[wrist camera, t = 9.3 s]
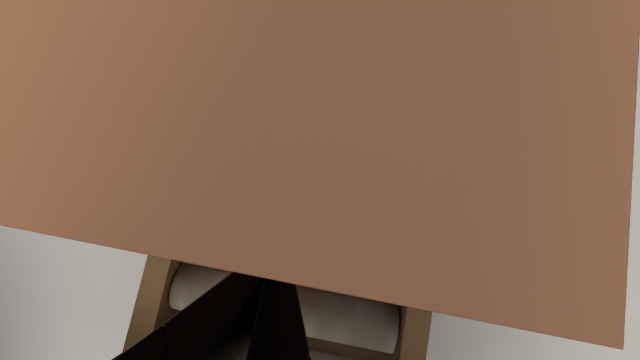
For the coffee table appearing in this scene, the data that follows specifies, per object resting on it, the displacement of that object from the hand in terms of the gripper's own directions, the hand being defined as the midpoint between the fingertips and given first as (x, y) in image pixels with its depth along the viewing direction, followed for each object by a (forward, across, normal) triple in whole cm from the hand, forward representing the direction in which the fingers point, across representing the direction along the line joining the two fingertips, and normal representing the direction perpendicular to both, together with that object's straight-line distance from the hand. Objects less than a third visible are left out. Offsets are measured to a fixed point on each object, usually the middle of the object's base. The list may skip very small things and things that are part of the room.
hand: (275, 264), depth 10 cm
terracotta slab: (+6, 0, -2) cm, 7 cm away
